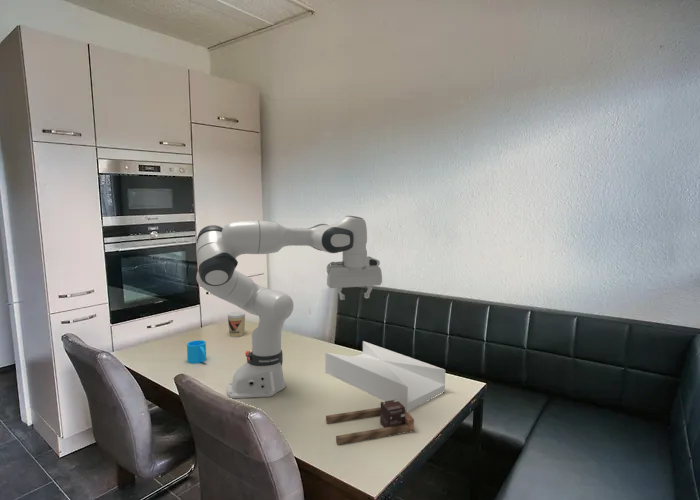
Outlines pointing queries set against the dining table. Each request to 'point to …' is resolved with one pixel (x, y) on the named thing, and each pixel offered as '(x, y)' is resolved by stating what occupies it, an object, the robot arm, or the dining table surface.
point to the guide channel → (370, 433)
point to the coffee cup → (236, 324)
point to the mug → (196, 351)
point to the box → (392, 413)
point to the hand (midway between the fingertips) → (354, 298)
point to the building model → (388, 375)
